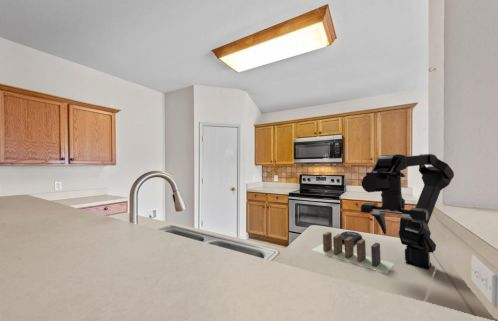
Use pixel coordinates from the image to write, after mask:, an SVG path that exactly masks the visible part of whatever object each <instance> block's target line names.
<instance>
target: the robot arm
mask: <svg viewBox="0 0 498 321" xmlns="http://www.w3.org/2000/svg"><path fill="white" fill-rule="evenodd" d="M429 165H430V166H429ZM417 166H418V172H419V174H421V180H422V182H423V187H422V190H421V192H420V194H419V198H418V200H417V202H416V205H415V206H414V207H411V208H410V209H405V206H406V205H405V204H406V200H405V198H403V195H402V178H406V175H405V174H404V173H403V172H401V171H403V170H406V169H407V168H408V167H417ZM365 173H366V174H365V176H364V177H363V178H362V180H361V187H362V189H363V191H365V192H367V193H377V192H378V193H379V192H381V193H380V197H381V206H378V205H377V203H372V202H365V203H362V204H361V205H360V213H365V214H371V216H372V217H374V218H375V220H376V221H377V223H378V225H379V226H380V229H381V231H382V233H383V235H387V227H386V226H387V225H386V219H385V218H386V213H387V214H395V215H401V217H400V220H399V227H398V229H399V230H398V236H399V240H400V243H401V245H404V246H406V247H405V249H404V260H405V264H406V265H409V266H413V267H416V268H421V269H424V270H427V271H428V270H430V268H431V265H432V262H431V254H430V253H432V254H433V253H434V252H435V251H436V248H437V244H436V243H435V242H434V240H433V239H432V238H431V234H432V233H431V230H430V227H429V223H430V219H431V217H432V214H433V212H434V209H435V206H436V204H437V201H438V199H439V196H440V193H441V191H442V190H443V189H445V188H446V187H448V186H449V185H450V184H451V182H452V180H453V178H454V177H455V172H454V170H453V169H452V168H451V167H450V166H449V163H446V162H444V161H443V160H441V159H439V158H438V157H437V155H435V154H432V153H424V154H423V153H422V154H418V155H408V156H407V155H404V154H399V153H398V154H397V153H396V154H382V155H379V156H378V159H377V160H376V162H375V163H374V166H373V168H372V169H371V171H366V172H365Z"/></svg>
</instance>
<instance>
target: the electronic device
mask: <svg viewBox="0 0 498 321" xmlns="http://www.w3.org/2000/svg"><path fill="white" fill-rule="evenodd" d="M340 234H341V235H342V241H344V240H345V239H346V238H348V237H353V245H354V244H357V242H358V241H360V240H361V239H363V235H361V234H360V233H359V232H357V231H351V230H350V231H343V232H341V233H340Z"/></svg>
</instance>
